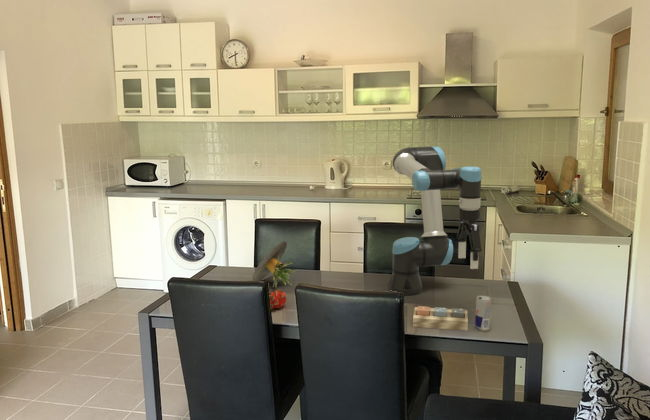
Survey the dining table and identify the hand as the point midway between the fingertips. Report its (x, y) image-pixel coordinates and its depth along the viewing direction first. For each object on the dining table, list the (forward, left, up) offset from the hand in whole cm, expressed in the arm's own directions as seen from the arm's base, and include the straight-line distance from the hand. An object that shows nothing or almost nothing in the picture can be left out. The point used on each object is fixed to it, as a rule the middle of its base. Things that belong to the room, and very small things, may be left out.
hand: (467, 263), depth 205 cm
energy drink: (+9, -3, -23) cm, 25 cm away
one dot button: (-10, -14, -20) cm, 26 cm away
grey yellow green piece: (-86, -27, -23) cm, 93 cm away
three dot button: (-5, -10, -20) cm, 23 cm away
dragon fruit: (-63, -44, -23) cm, 80 cm away
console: (-5, -10, -23) cm, 25 cm away
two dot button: (+1, -7, -20) cm, 21 cm away
